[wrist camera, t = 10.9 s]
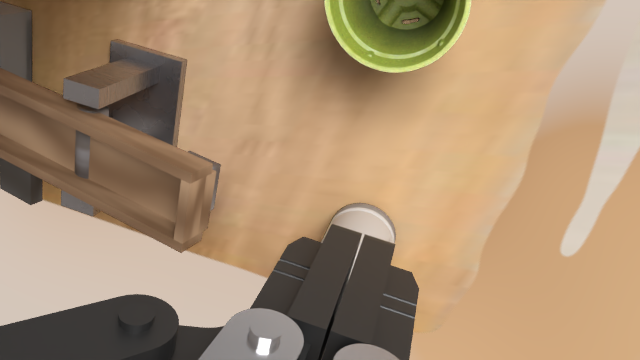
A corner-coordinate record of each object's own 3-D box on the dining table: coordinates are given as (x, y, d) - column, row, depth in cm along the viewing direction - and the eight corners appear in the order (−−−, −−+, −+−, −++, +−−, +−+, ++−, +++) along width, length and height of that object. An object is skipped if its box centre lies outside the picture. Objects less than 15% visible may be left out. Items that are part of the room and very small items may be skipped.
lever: (14, 58, 50) (-41, 65, 45) (233, 154, 42) (191, 173, 38) (16, 170, 54) (-34, 186, 50) (213, 274, 47) (174, 304, 43)
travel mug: (317, 241, 54) (243, 388, 36) (350, 189, 51) (287, 322, 33) (372, 274, 54) (325, 438, 36) (408, 225, 51) (377, 377, 33)
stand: (117, 39, 51) (40, 59, 41) (187, 59, 50) (124, 85, 41) (109, 164, 56) (40, 207, 47) (172, 185, 55) (113, 232, 46)
